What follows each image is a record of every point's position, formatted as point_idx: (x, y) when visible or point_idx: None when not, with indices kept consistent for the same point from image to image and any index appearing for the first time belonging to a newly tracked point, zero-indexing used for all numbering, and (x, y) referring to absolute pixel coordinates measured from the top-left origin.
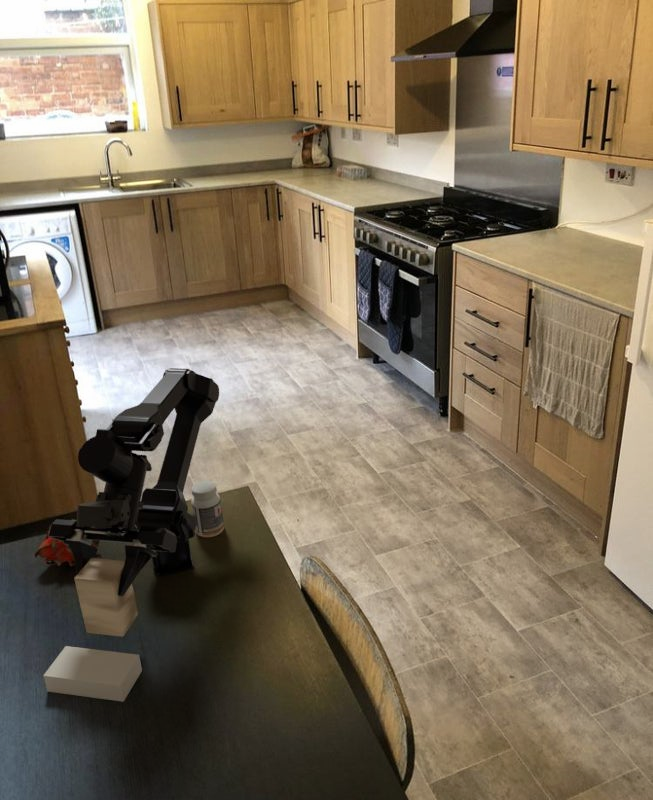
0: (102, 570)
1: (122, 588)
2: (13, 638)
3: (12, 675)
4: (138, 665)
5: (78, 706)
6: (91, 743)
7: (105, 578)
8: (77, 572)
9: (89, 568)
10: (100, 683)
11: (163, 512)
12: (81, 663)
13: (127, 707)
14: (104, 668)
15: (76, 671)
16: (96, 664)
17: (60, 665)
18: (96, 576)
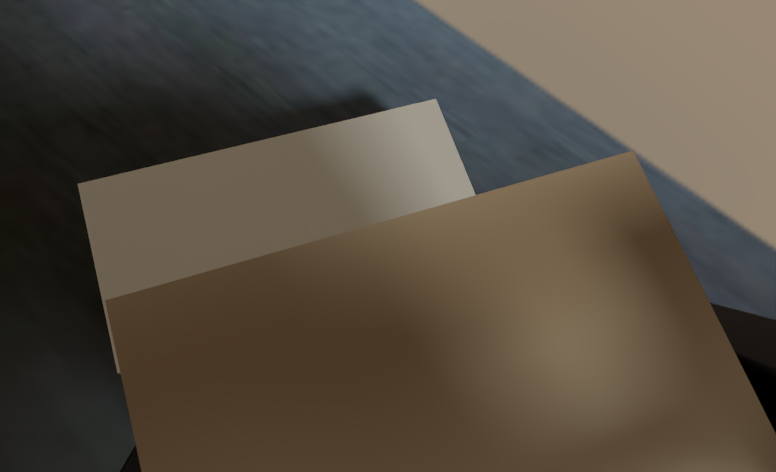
0: (454, 445)
1: (129, 455)
2: (766, 267)
3: (592, 142)
4: None
5: (262, 136)
6: (98, 46)
7: (257, 316)
8: (740, 315)
9: (653, 386)
10: (177, 160)
11: None
12: (347, 208)
13: (74, 205)
14: (222, 228)
15: (330, 166)
16: (276, 230)
17: (420, 162)
18: (418, 296)
